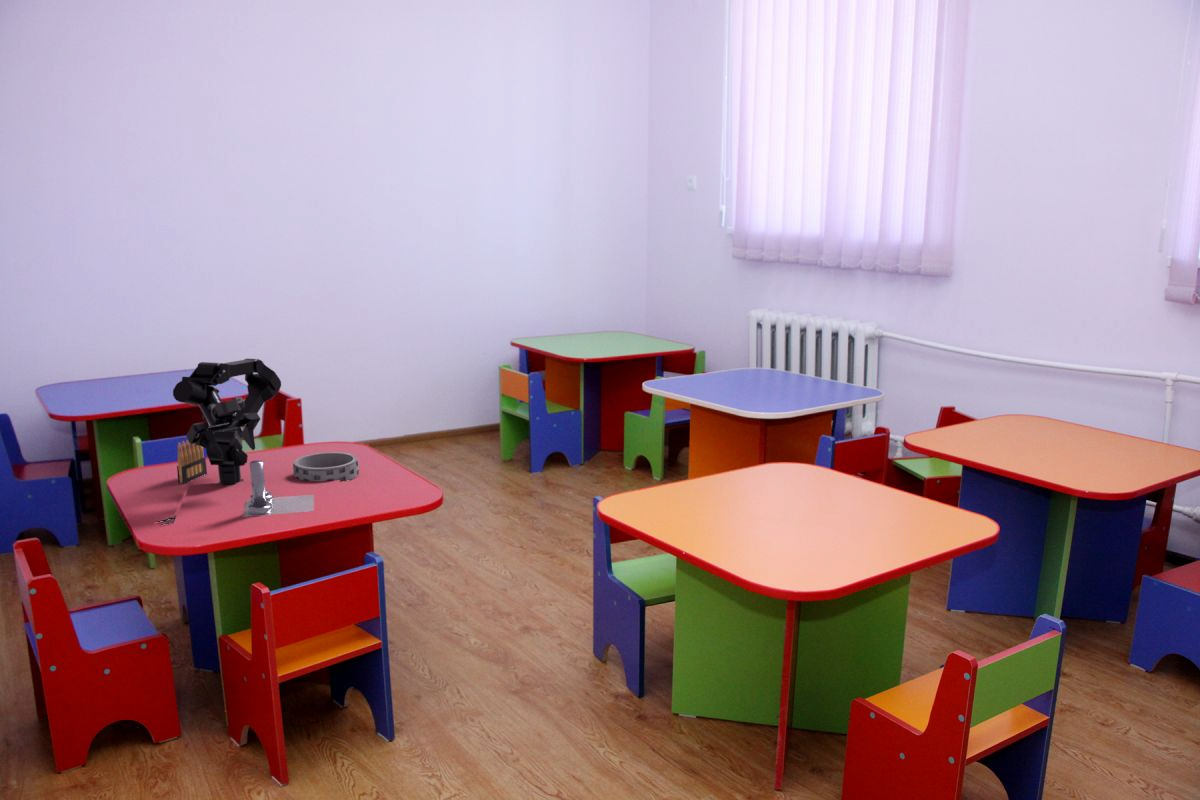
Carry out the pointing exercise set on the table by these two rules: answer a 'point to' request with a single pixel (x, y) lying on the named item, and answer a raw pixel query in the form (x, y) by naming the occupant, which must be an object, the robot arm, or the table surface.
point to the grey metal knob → (268, 497)
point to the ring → (326, 466)
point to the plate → (287, 505)
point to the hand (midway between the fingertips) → (238, 452)
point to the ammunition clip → (190, 462)
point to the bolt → (258, 490)
